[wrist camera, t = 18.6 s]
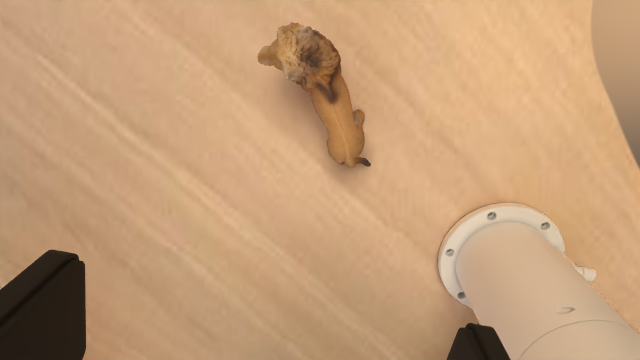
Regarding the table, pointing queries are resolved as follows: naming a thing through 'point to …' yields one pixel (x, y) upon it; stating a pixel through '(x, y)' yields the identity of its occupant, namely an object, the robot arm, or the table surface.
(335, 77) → the lion figurine
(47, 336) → the robot arm
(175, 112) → the table surface
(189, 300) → the table surface
